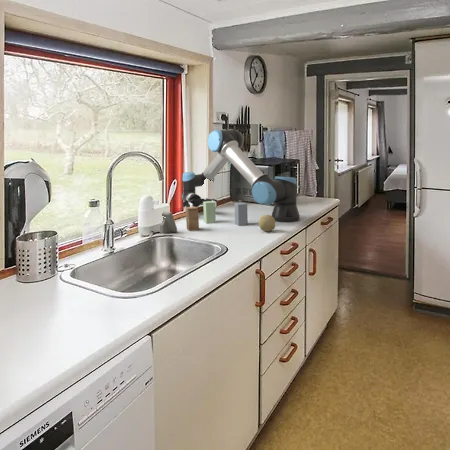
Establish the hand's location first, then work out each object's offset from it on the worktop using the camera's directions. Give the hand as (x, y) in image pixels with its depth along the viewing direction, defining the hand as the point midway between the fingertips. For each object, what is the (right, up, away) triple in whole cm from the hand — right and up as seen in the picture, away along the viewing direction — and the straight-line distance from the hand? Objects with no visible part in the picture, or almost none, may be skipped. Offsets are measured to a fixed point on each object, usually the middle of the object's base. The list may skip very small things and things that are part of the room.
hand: (204, 205), depth 244 cm
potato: (+32, -14, -32) cm, 47 cm away
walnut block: (-5, -13, -23) cm, 27 cm away
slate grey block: (+20, -11, -15) cm, 27 cm away
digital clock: (-20, -14, -25) cm, 35 cm away
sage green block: (+3, -9, -7) cm, 12 cm away
